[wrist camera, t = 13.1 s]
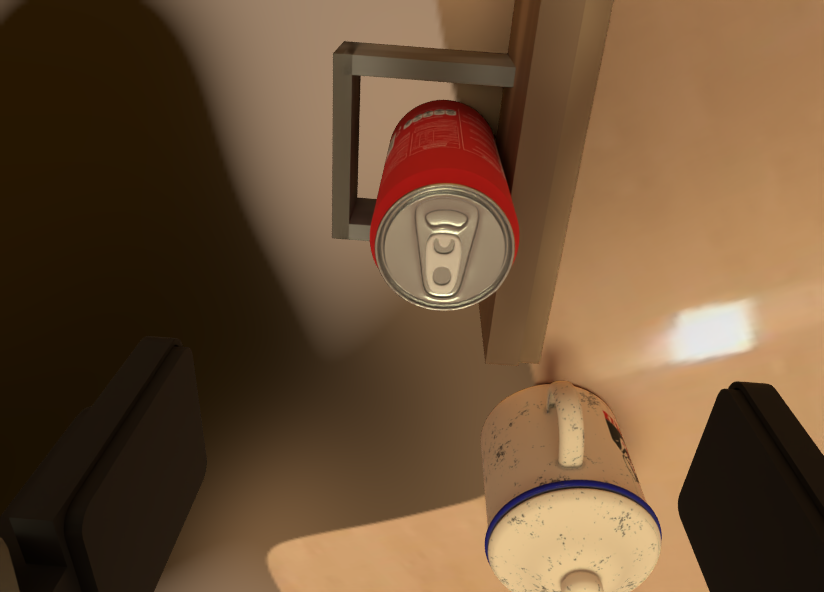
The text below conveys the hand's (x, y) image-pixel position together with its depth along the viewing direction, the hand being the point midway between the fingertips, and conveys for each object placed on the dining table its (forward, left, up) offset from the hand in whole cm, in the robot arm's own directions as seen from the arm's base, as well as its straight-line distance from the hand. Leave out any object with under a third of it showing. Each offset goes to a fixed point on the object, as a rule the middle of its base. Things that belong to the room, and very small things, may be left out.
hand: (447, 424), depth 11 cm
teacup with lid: (-8, +18, -23) cm, 30 cm away
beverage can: (0, +2, -23) cm, 23 cm away
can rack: (+1, +1, -22) cm, 22 cm away
